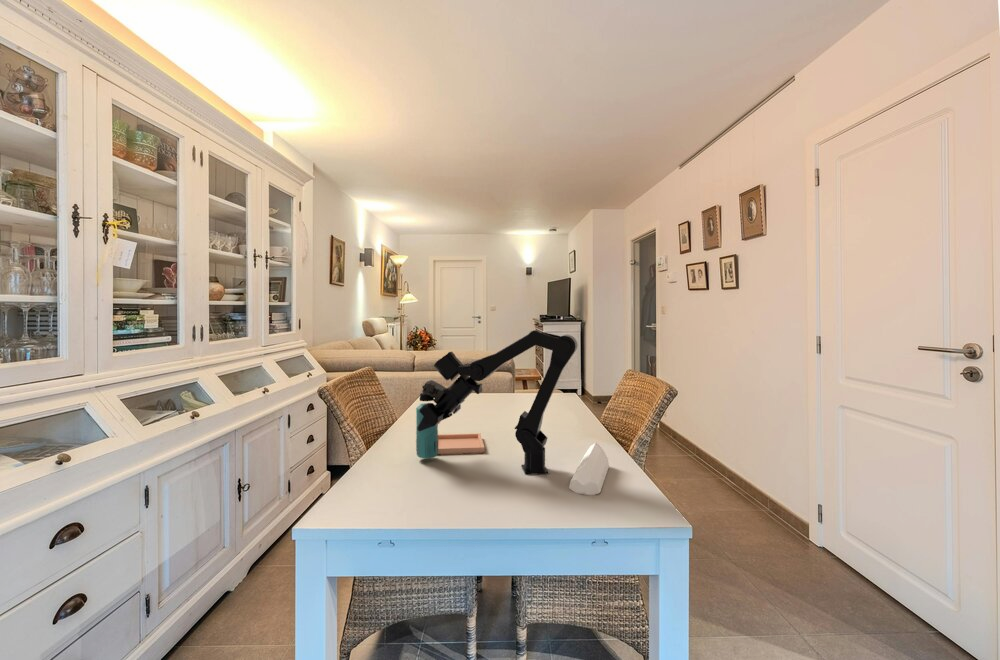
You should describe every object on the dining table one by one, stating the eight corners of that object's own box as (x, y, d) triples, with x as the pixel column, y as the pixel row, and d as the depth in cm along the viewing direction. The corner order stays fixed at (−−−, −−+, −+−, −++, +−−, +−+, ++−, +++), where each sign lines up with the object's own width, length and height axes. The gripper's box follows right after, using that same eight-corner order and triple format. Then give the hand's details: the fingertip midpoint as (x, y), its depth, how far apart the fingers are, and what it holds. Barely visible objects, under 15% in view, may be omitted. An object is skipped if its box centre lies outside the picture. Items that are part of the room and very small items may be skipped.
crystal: (577, 449, 130) (560, 477, 107) (599, 439, 127) (585, 466, 105) (590, 472, 129) (574, 506, 106) (612, 462, 126) (601, 495, 104)
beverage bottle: (436, 463, 127) (436, 395, 126) (413, 463, 127) (413, 394, 127) (440, 456, 134) (439, 391, 133) (418, 456, 134) (418, 390, 133)
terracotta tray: (484, 453, 137) (484, 447, 137) (432, 454, 135) (432, 449, 135) (480, 438, 153) (480, 433, 153) (433, 439, 151) (433, 434, 151)
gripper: (451, 368, 137) (418, 401, 141) (425, 376, 119) (389, 414, 123) (475, 394, 136) (441, 427, 139) (453, 407, 118) (415, 444, 121)
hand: (422, 427), depth 131 cm, fingers closed on beverage bottle, 6 cm apart
